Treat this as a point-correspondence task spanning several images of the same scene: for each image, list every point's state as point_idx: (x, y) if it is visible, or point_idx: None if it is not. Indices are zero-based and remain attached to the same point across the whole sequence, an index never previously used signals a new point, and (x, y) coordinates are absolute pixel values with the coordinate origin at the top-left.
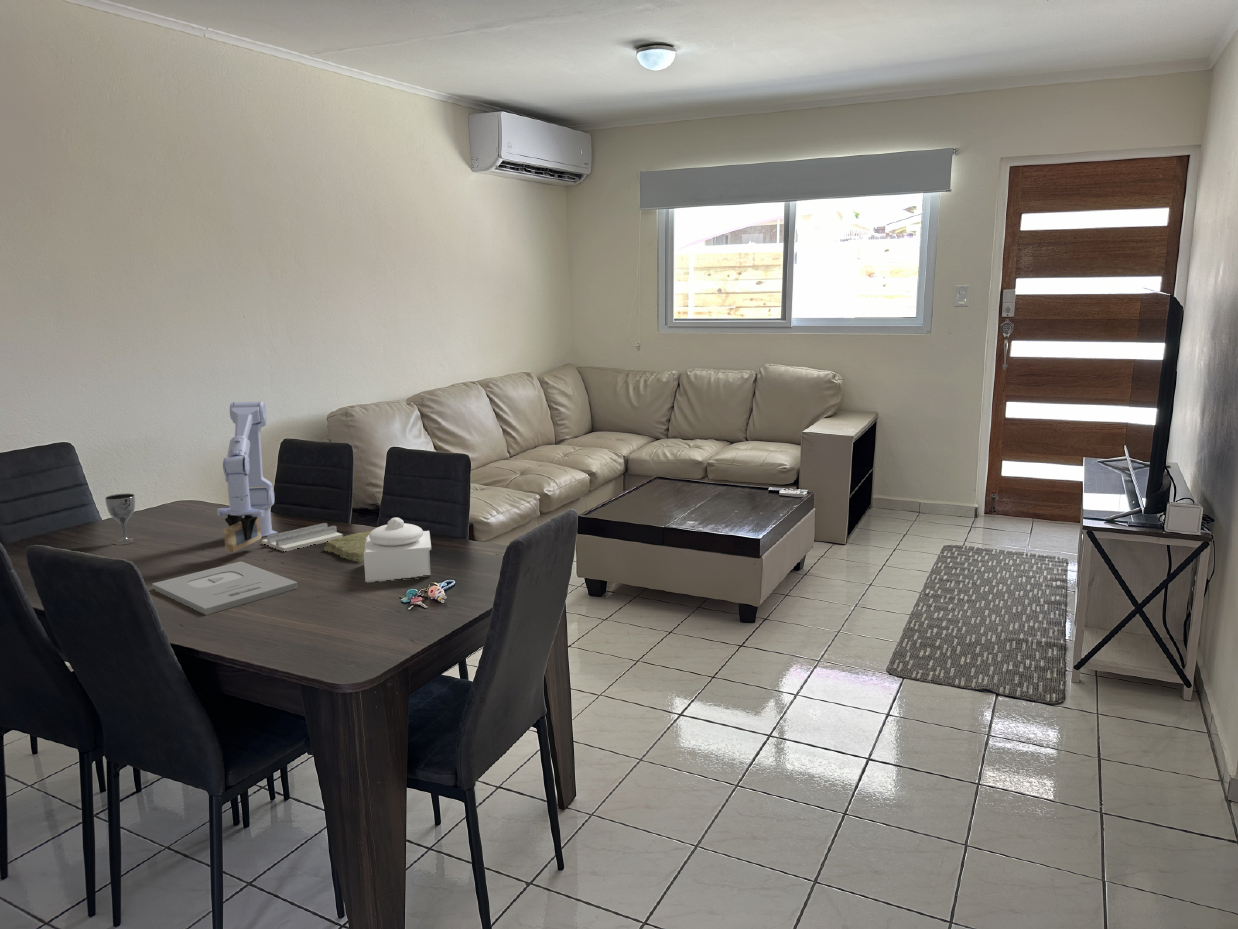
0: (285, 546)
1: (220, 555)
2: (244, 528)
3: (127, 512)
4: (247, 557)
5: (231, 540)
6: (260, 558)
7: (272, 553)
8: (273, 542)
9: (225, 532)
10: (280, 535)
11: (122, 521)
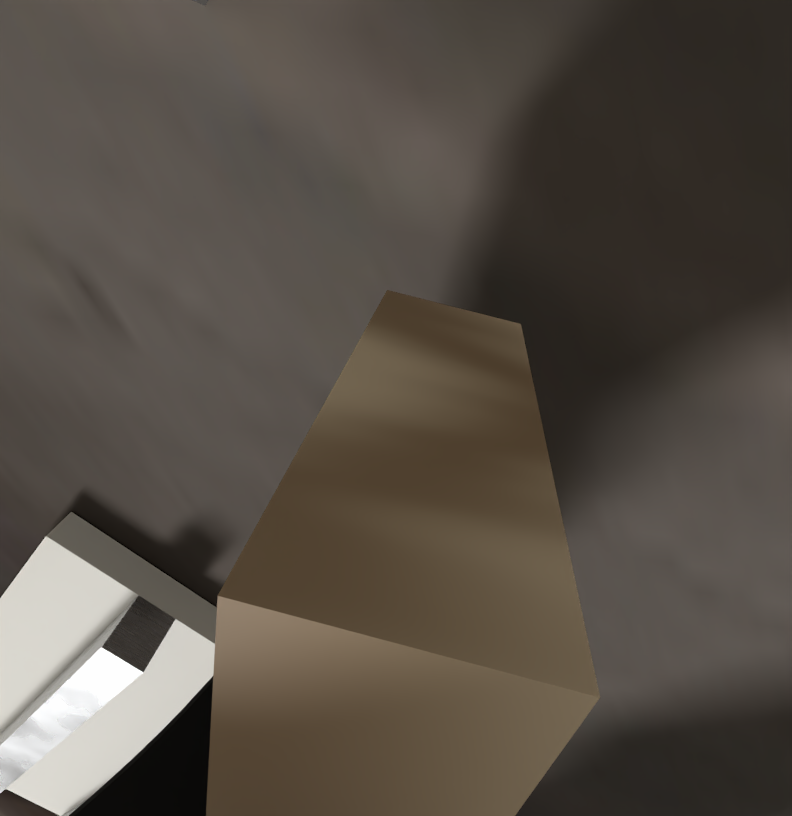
0: (74, 580)
1: (648, 502)
2: (196, 769)
3: None
4: None
5: (358, 374)
6: (172, 358)
7: (154, 494)
8: None
9: (506, 554)
10: None
11: None
